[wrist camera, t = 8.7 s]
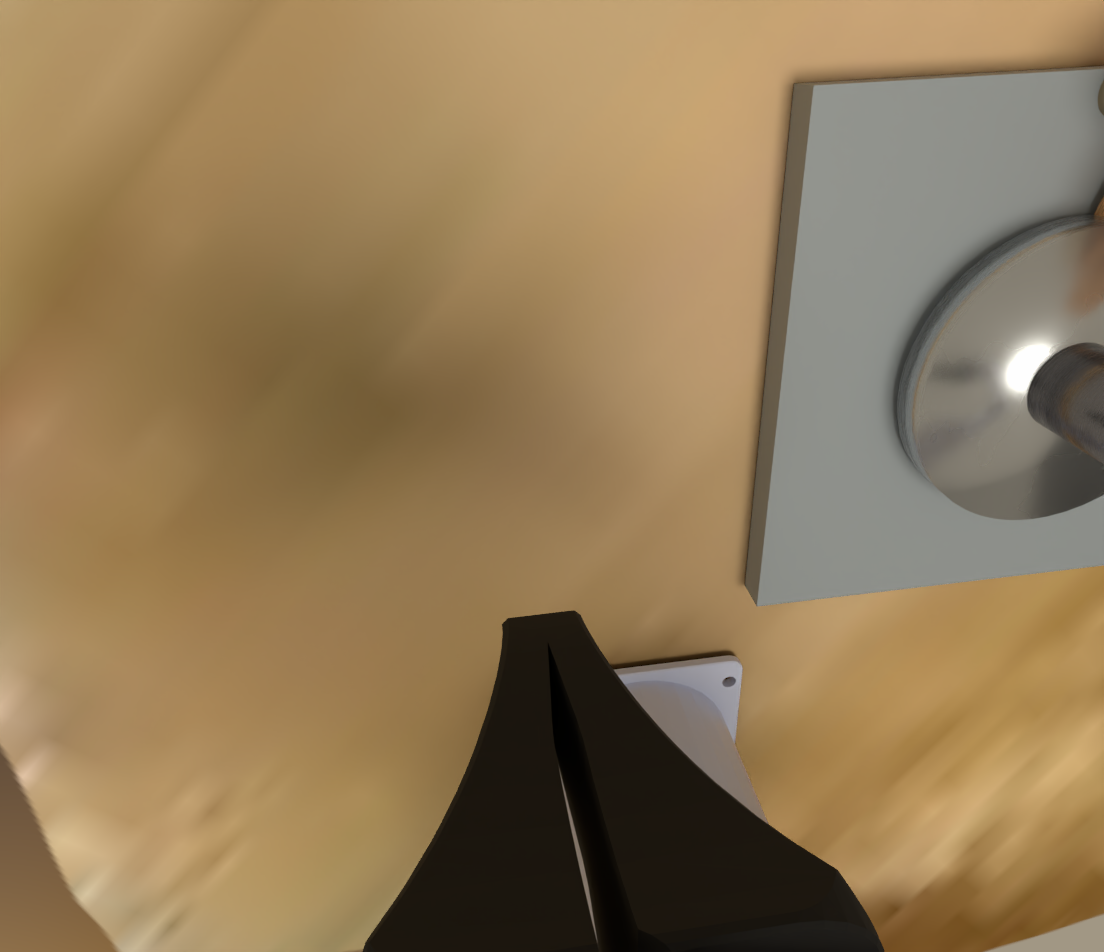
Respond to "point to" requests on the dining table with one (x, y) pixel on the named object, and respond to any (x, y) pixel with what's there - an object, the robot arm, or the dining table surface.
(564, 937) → the robot arm
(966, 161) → the board
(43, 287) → the dining table surface
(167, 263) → the dining table surface
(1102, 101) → the dowel
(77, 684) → the dining table surface
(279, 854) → the dining table surface
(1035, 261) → the silver orange domed piece
